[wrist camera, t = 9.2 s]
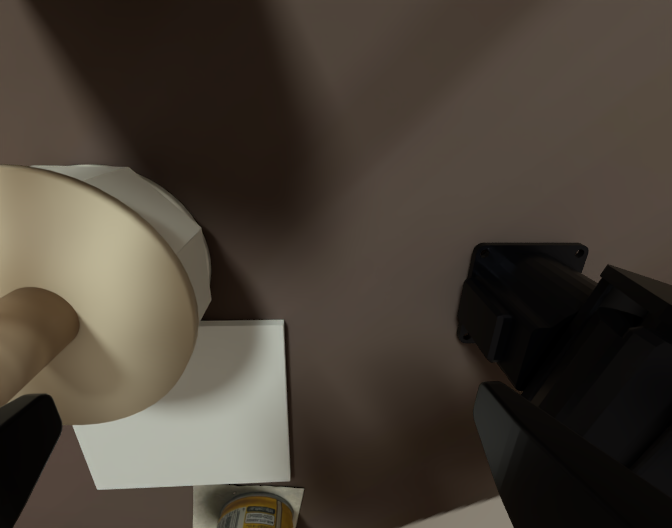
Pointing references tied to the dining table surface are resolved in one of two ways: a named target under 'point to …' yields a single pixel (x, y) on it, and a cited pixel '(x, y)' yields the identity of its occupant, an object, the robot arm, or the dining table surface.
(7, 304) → the lid
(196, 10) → the dining table surface
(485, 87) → the dining table surface
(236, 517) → the condiment
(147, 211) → the bowl
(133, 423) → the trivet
